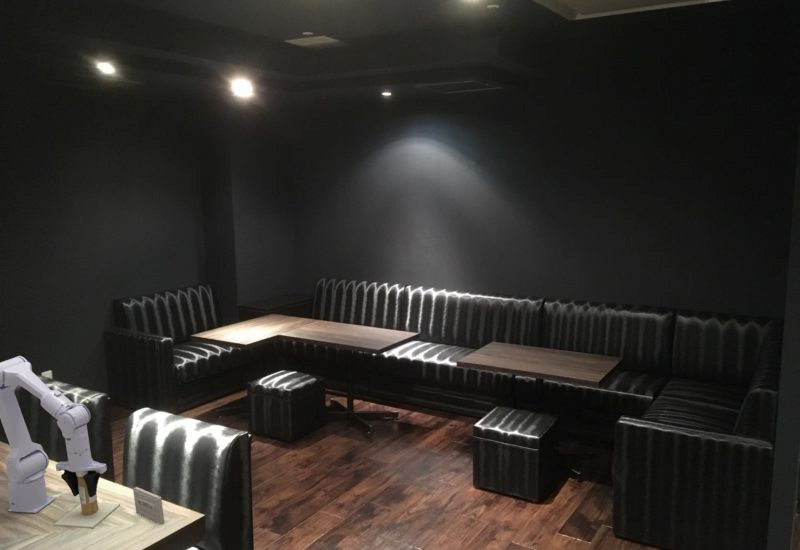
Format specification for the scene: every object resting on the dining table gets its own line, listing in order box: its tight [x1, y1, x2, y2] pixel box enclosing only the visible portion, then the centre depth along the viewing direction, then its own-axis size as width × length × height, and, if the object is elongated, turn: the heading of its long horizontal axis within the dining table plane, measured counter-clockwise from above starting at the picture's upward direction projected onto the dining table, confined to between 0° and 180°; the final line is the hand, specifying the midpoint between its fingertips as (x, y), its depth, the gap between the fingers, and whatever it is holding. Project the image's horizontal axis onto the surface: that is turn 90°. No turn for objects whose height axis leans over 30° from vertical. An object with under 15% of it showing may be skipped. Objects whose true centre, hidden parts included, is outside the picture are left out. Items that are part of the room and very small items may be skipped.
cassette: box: [132, 486, 165, 525], centre depth 181 cm, size 12×2×8 cm, turn 55°
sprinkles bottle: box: [76, 471, 99, 515], centre depth 185 cm, size 5×5×14 cm
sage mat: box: [54, 502, 121, 530], centre depth 185 cm, size 12×12×1 cm
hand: (85, 495), depth 184 cm, fingers open, 4 cm apart
